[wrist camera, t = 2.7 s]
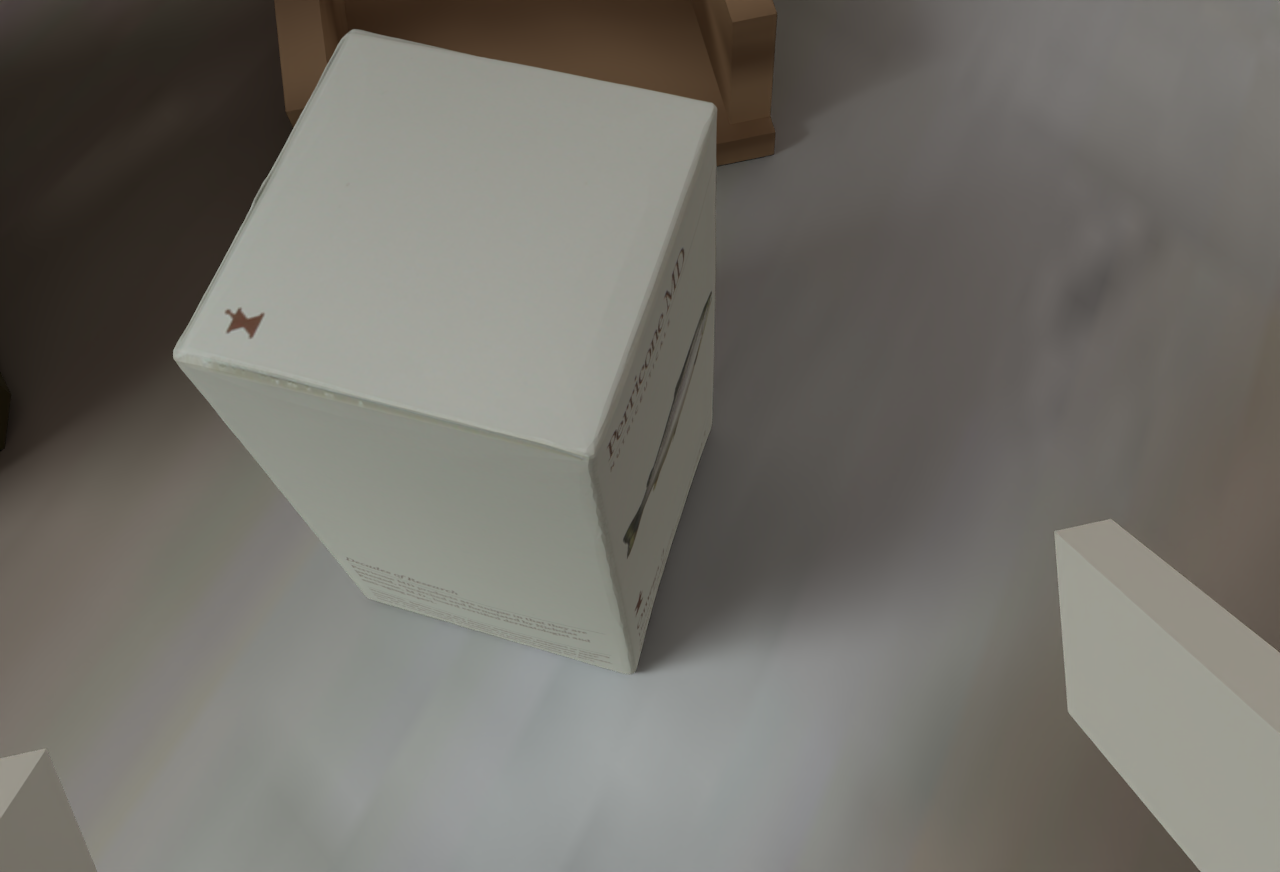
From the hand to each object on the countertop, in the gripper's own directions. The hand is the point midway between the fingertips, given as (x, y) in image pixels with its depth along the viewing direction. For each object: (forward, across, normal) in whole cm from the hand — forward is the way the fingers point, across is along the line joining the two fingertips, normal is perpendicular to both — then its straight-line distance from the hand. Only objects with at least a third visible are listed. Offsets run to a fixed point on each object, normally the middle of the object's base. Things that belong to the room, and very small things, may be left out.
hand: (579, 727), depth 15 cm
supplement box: (+16, -1, -3) cm, 16 cm away
